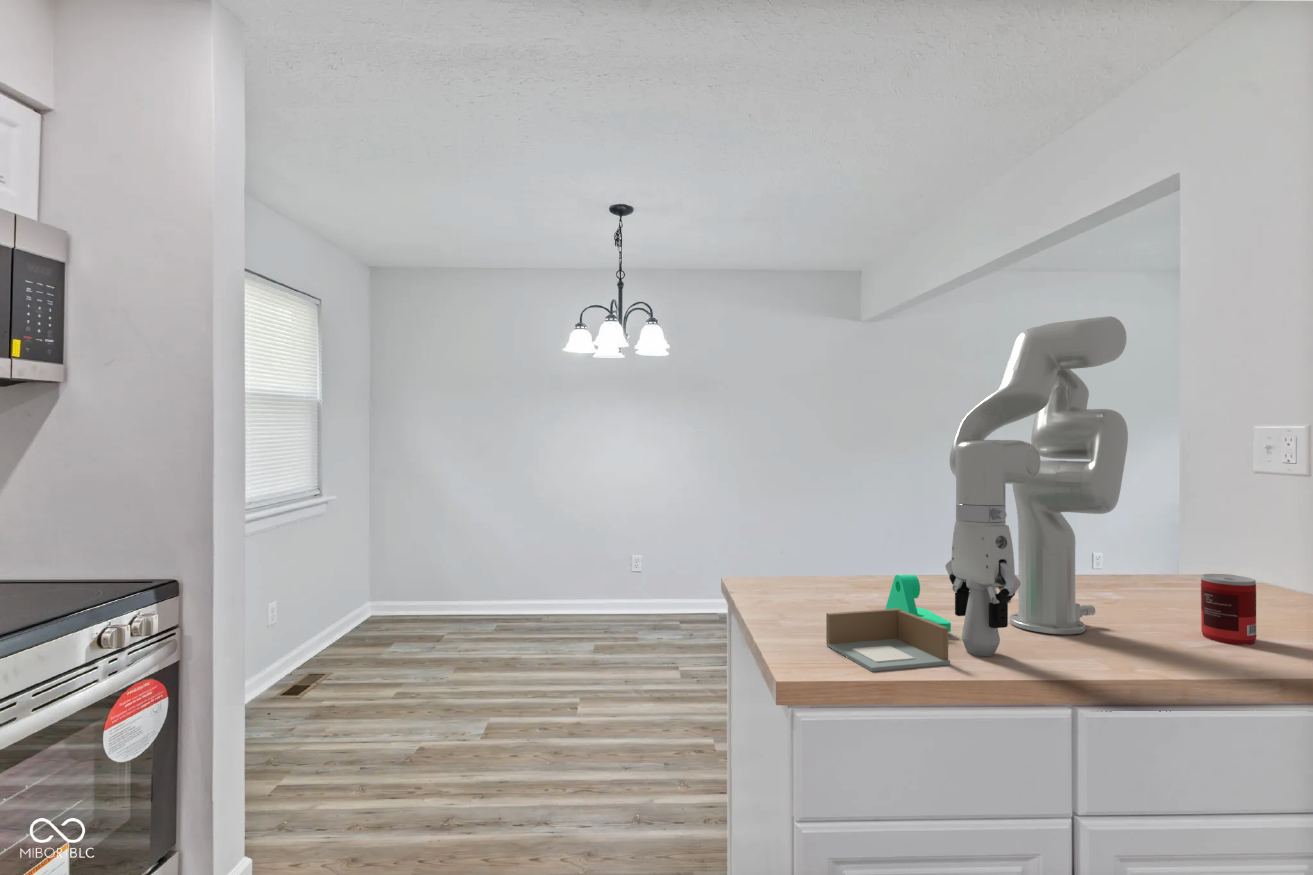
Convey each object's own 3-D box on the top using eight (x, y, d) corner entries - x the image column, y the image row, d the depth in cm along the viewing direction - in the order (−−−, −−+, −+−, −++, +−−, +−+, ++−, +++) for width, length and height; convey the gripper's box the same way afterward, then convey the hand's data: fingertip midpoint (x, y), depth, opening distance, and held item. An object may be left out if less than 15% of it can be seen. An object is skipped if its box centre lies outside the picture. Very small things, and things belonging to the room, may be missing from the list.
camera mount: (953, 637, 126) (952, 580, 126) (912, 638, 125) (911, 581, 125) (923, 621, 138) (922, 568, 138) (885, 621, 137) (885, 569, 137)
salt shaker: (997, 649, 118) (997, 572, 118) (1002, 659, 112) (1002, 578, 112) (960, 646, 120) (959, 570, 120) (963, 655, 114) (962, 576, 114)
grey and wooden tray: (897, 640, 123) (897, 608, 123) (950, 664, 110) (950, 628, 110) (826, 645, 120) (826, 613, 120) (871, 671, 106) (871, 634, 106)
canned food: (1247, 635, 127) (1247, 575, 127) (1263, 647, 119) (1263, 583, 120) (1195, 631, 130) (1195, 572, 130) (1208, 642, 123) (1208, 579, 123)
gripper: (1040, 519, 109) (1040, 633, 109) (963, 509, 126) (964, 608, 125) (999, 521, 107) (999, 636, 107) (927, 510, 124) (927, 610, 123)
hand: (980, 620), depth 116 cm, fingers open, 7 cm apart
